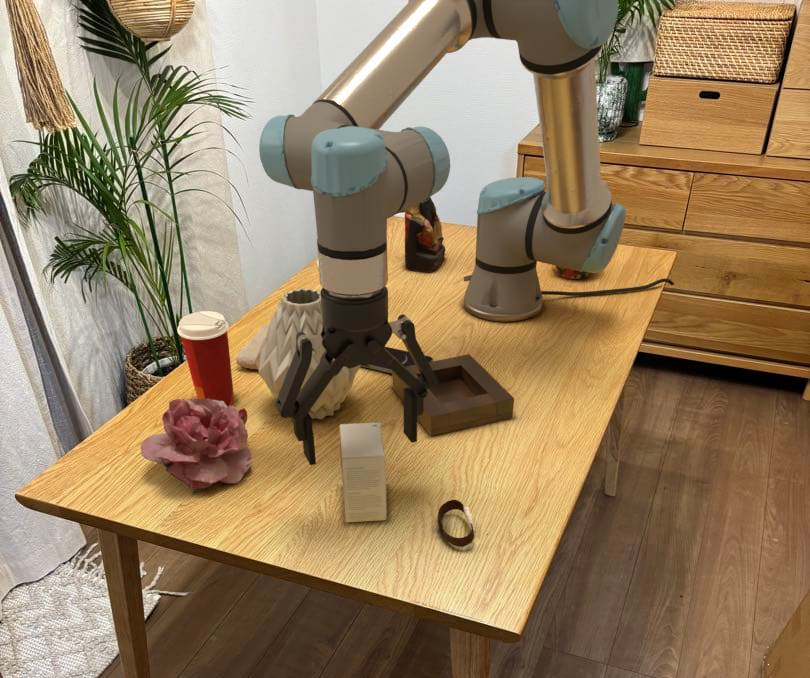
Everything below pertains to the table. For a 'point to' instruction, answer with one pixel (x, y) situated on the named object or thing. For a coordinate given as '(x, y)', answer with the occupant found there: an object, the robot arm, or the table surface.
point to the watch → (459, 506)
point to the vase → (280, 345)
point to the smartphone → (399, 355)
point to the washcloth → (252, 349)
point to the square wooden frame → (459, 396)
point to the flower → (201, 442)
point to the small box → (363, 472)
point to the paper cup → (208, 355)
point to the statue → (423, 238)
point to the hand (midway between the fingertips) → (361, 448)
